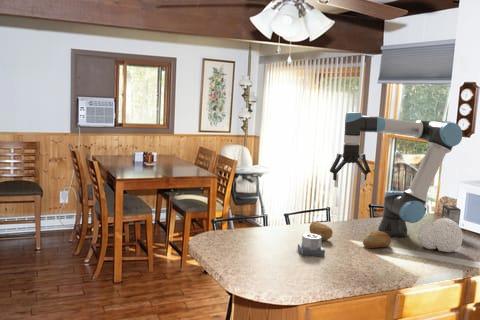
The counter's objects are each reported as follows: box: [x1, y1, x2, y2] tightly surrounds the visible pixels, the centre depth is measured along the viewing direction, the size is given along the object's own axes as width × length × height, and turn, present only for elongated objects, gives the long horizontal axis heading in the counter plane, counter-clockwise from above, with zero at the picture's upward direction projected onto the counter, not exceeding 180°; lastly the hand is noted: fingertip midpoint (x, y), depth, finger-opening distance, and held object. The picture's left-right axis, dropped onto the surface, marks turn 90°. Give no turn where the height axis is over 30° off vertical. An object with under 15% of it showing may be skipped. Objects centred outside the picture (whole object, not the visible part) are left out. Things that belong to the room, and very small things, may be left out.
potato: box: [309, 221, 334, 241], centre depth 237 cm, size 10×14×8 cm
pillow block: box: [297, 235, 326, 258], centre depth 215 cm, size 10×9×8 cm
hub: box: [301, 233, 323, 250], centre depth 214 cm, size 8×8×5 cm
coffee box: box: [441, 204, 462, 226], centre depth 255 cm, size 9×6×16 cm
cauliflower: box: [417, 217, 464, 254], centre depth 229 cm, size 20×18×16 cm
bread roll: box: [362, 230, 392, 249], centre depth 229 cm, size 10×15×8 cm, turn 113°
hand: (349, 186), depth 234 cm, fingers open, 13 cm apart
